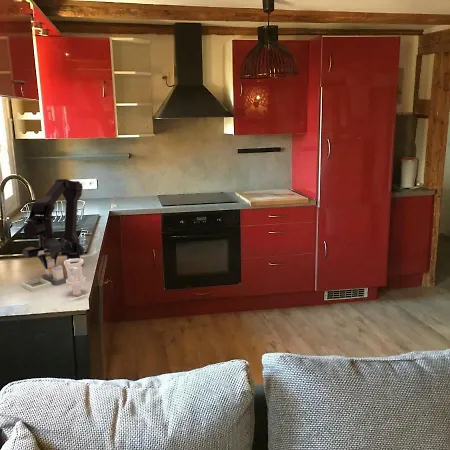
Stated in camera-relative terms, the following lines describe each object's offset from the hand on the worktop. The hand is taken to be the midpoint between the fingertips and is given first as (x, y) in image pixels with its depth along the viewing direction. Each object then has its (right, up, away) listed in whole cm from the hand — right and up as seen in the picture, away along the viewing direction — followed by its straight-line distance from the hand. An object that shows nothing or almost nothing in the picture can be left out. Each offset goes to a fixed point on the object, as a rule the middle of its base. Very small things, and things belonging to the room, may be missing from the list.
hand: (50, 268), depth 208 cm
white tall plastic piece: (+16, -9, -16) cm, 25 cm away
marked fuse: (0, -3, +1) cm, 3 cm away
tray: (-3, -8, -6) cm, 11 cm away
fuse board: (+3, -6, -1) cm, 7 cm away
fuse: (+5, -6, -3) cm, 8 cm away
